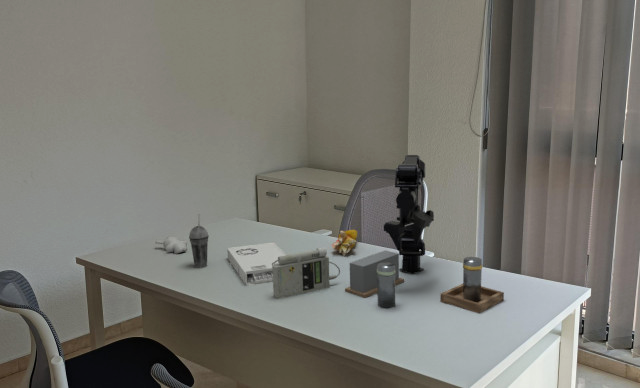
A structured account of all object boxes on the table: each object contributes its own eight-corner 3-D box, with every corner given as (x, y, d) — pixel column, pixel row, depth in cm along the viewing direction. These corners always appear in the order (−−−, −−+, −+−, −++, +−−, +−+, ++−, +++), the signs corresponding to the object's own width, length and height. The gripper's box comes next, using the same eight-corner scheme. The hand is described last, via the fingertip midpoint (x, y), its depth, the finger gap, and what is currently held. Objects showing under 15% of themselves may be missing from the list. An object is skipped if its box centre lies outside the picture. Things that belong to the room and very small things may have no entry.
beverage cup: (187, 268, 245) (183, 216, 241) (197, 262, 252) (194, 212, 248) (204, 269, 243) (200, 218, 238) (214, 264, 249) (210, 213, 245)
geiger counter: (275, 259, 208) (344, 246, 219) (268, 253, 214) (334, 241, 225) (277, 300, 211) (344, 285, 222) (270, 293, 217) (335, 279, 228)
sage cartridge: (385, 299, 208) (385, 261, 205) (399, 304, 204) (399, 264, 201) (373, 305, 204) (372, 265, 201) (387, 309, 200) (387, 269, 197)
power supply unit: (246, 287, 225) (245, 273, 224) (227, 260, 255) (227, 248, 254) (298, 279, 231) (298, 266, 230) (274, 254, 261) (273, 242, 260)
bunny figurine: (172, 247, 260) (152, 236, 269) (173, 258, 261) (152, 247, 271) (192, 241, 266) (172, 231, 276) (192, 253, 268) (172, 242, 277)
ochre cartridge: (464, 294, 209) (464, 255, 206) (482, 296, 207) (483, 257, 204) (461, 301, 203) (461, 261, 200) (479, 303, 201) (480, 263, 198)
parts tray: (465, 289, 215) (465, 282, 214) (503, 300, 205) (503, 292, 204) (440, 301, 205) (440, 293, 205) (478, 313, 195) (479, 305, 195)
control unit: (384, 276, 230) (383, 248, 228) (404, 281, 224) (404, 253, 222) (344, 291, 217) (344, 262, 214) (364, 297, 210) (364, 268, 208)
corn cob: (356, 248, 276) (344, 259, 252) (340, 239, 277) (326, 249, 253) (365, 231, 274) (354, 241, 250) (349, 222, 276) (336, 230, 251)
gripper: (409, 211, 203) (409, 259, 206) (444, 200, 216) (444, 246, 219) (382, 206, 211) (382, 252, 214) (417, 196, 224) (417, 239, 227)
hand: (408, 247), depth 218 cm, fingers open, 9 cm apart
